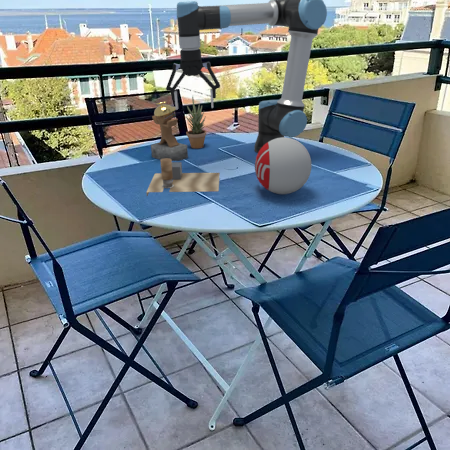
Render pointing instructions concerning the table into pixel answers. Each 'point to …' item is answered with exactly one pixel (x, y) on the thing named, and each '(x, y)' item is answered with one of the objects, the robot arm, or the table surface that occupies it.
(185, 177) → the board
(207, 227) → the table surface
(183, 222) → the table surface
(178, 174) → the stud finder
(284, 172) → the decorative sphere
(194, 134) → the potted plant
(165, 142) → the figurine
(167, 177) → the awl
